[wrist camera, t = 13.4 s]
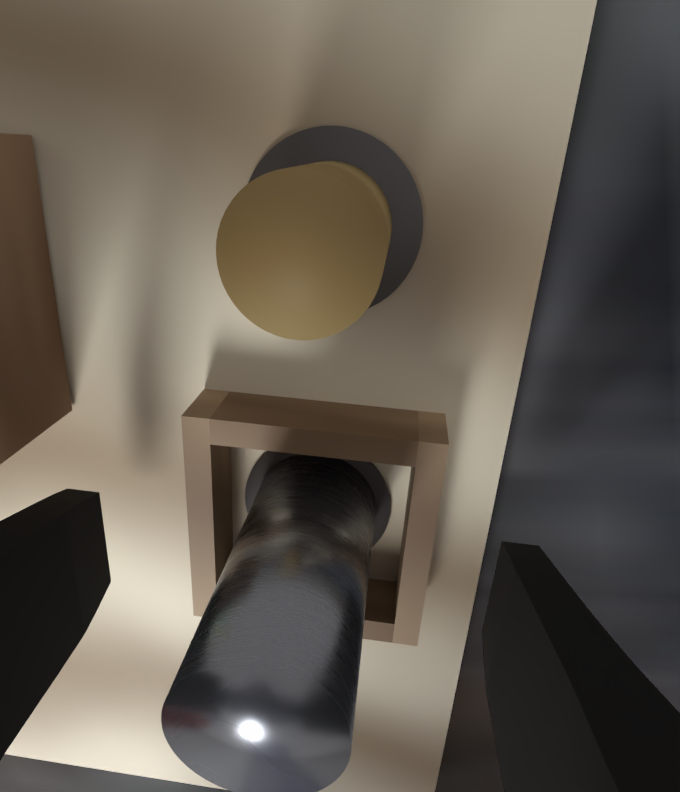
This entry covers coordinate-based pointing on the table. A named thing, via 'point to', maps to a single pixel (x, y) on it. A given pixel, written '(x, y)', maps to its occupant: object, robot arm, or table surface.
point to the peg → (281, 638)
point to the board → (181, 327)
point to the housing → (26, 307)
